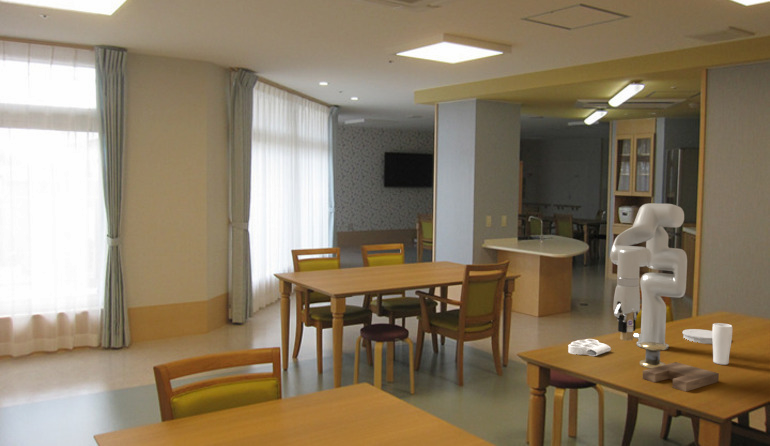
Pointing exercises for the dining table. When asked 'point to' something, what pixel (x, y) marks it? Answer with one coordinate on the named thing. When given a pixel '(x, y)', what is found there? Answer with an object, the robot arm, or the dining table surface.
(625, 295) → the robot arm
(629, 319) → the sprinkles bottle
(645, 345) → the bobbin
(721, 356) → the drinking glass
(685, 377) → the notched board
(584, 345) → the knuckle duster
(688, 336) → the lid
